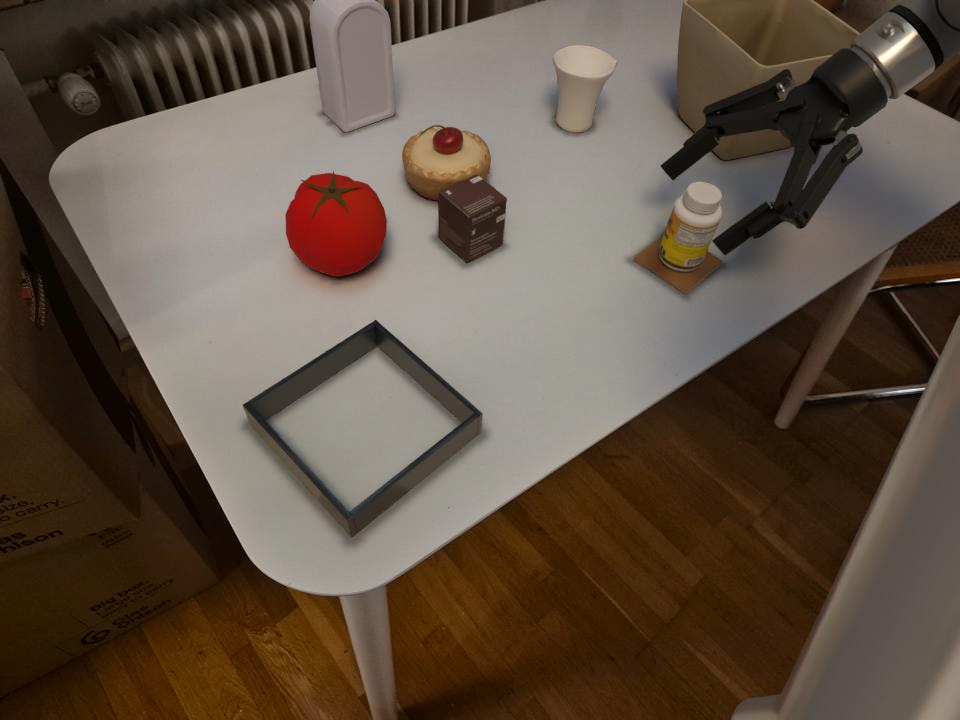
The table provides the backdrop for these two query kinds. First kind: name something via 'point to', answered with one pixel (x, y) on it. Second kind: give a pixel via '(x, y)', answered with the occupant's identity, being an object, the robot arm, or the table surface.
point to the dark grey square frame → (329, 366)
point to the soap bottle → (353, 61)
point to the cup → (580, 84)
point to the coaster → (675, 278)
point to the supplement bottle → (691, 227)
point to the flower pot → (749, 57)
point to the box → (471, 217)
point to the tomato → (335, 224)
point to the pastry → (443, 159)
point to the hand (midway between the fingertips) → (690, 209)
